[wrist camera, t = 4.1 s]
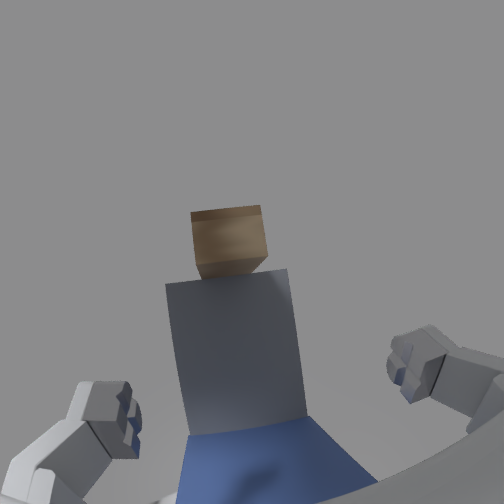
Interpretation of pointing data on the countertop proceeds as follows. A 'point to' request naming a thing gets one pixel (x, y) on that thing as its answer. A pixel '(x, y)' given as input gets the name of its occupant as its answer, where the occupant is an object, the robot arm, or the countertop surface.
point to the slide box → (228, 241)
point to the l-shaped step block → (249, 398)
